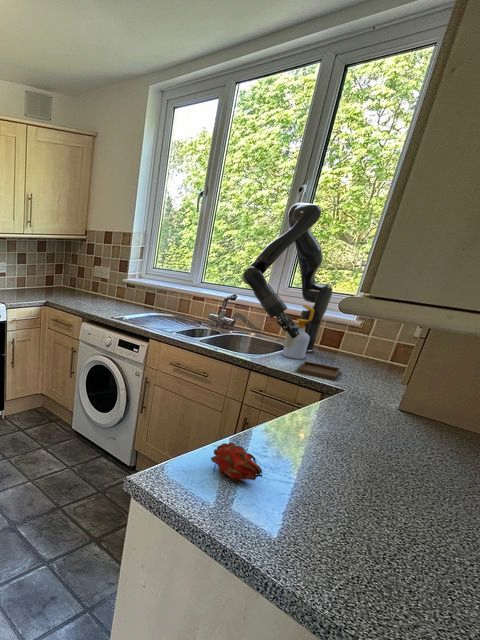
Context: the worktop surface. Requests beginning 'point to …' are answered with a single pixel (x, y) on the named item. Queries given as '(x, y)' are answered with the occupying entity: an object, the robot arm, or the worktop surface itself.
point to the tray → (319, 370)
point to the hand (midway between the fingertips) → (296, 336)
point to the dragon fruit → (236, 462)
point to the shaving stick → (290, 338)
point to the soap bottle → (300, 339)
